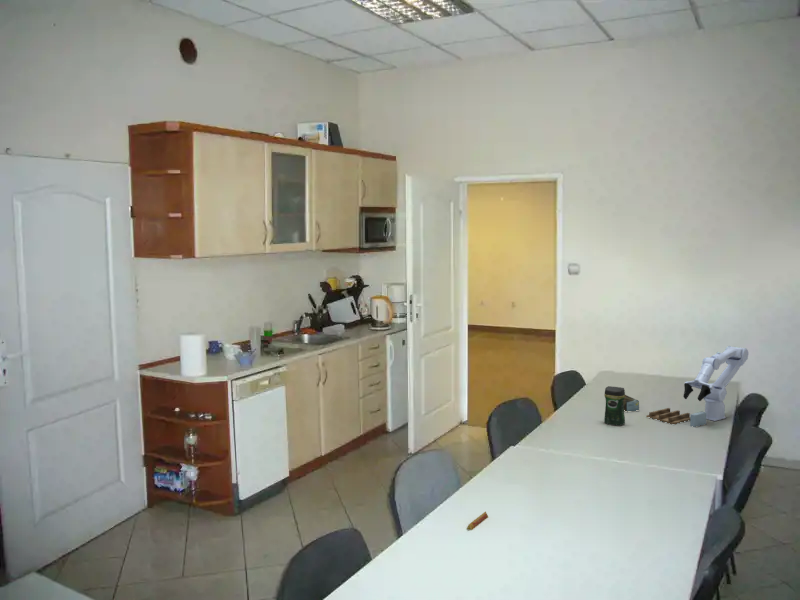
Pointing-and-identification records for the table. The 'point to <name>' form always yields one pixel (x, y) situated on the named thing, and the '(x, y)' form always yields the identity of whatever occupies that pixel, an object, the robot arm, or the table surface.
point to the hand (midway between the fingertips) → (691, 398)
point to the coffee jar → (614, 405)
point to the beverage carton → (630, 404)
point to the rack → (669, 416)
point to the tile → (698, 419)
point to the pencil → (477, 521)
